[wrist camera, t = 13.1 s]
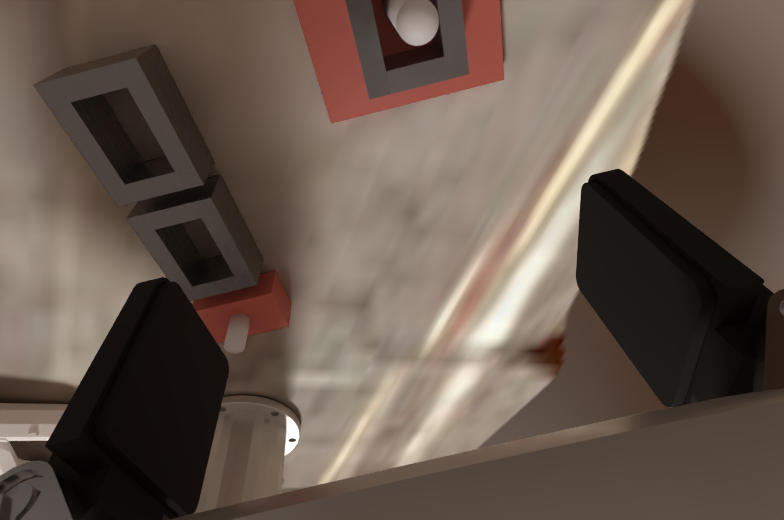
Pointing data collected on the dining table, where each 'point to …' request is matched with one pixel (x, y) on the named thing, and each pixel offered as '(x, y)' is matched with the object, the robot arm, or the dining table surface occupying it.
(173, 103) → the link
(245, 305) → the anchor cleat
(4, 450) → the pretzel
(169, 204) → the link
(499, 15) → the keeper
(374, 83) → the end link
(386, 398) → the dining table surface
